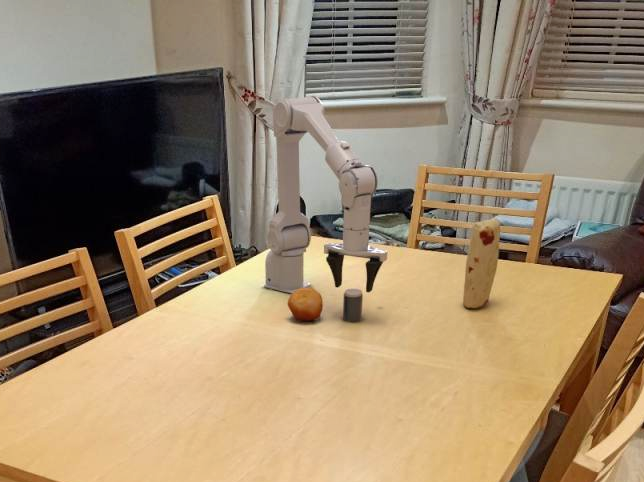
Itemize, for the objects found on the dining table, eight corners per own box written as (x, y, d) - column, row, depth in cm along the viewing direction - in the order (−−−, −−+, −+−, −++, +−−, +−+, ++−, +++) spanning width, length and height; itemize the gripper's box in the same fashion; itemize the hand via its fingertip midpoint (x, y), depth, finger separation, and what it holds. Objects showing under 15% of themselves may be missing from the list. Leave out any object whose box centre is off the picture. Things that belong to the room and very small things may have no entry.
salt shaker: (346, 323, 175) (347, 295, 171) (340, 316, 178) (341, 289, 175) (364, 321, 176) (365, 293, 172) (357, 314, 179) (359, 287, 176)
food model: (480, 313, 179) (492, 226, 168) (454, 308, 182) (464, 222, 171) (496, 301, 186) (509, 217, 174) (471, 296, 189) (482, 213, 177)
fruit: (324, 304, 181) (323, 281, 174) (322, 331, 178) (321, 309, 170) (290, 303, 182) (288, 280, 174) (288, 330, 178) (285, 308, 171)
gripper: (394, 226, 165) (389, 287, 173) (333, 219, 171) (331, 279, 179) (382, 234, 160) (378, 297, 168) (320, 226, 166) (319, 288, 173)
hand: (353, 288), depth 173 cm, fingers open, 7 cm apart
